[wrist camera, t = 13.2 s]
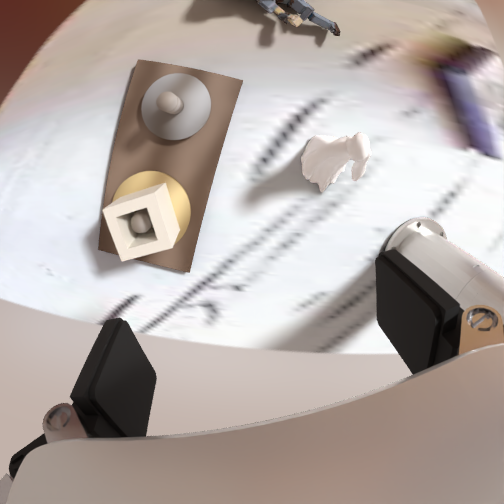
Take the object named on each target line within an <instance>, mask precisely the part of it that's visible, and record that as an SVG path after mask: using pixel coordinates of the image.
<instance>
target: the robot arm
mask: <svg viewBox="0 0 504 504" xmlns="http://www.w3.org/2000/svg"><path fill="white" fill-rule="evenodd" d="M375 264H376V294H377V321H378V324H379V326H380V327H381V329H382V330H383V332H384V333H385V335H386V336H387V337H388V339H389V340H390V342H391V343H392V345H393V346H394V347H395V349H396V350H397V352H398V353H399V355H400V356H401V358H402V359H403V360H404V362H405V363H406V365H407V366H408V368H409V369H410V371H411V372H412V374H413V375H411V376H409V377H407V378H404V379H401V380H399V381H396V382H394V383H391V384H388V385H386V386H383V387H380V388H378V389H375V390H372V391H369V392H367V393H364V394H361V395H358V396H355V397H352V398H349V399H346V400H343V401H340V402H337V403H333V404H330V405H326V406H323V407H319V408H316V409H313V410H308V411H305V412H301V413H297V414H293V415H289V416H285V417H280V418H276V419H271V420H267V421H262V422H257V423H252V424H247V425H241V426H236V427H229V428H223V429H217V430H210V431H202V432H193V433H184V434H175V435H162V436H147V437H146V433H147V427H148V421H149V415H150V410H151V405H152V400H153V394H154V390H155V384H156V379H157V378H156V373H155V370H154V369H153V367H152V365H151V364H150V362H149V360H148V359H147V357H146V355H145V353H144V352H143V350H142V348H141V346H140V344H139V343H138V341H137V339H136V337H135V335H134V333H133V332H132V330H131V328H130V326H129V324H128V322H127V321H123V320H122V319H121V318H115V319H111V320H107V321H106V322H105V323H104V325H103V327H102V329H101V331H100V333H99V335H98V338H97V339H96V341H95V343H94V345H93V347H92V349H91V352H90V353H89V355H88V358H87V360H86V362H85V364H84V366H83V368H82V370H81V373H80V375H79V377H78V379H77V381H76V384H75V386H74V388H73V390H72V393H71V395H70V398H71V399H72V400H73V401H74V402H73V404H72V405H70V404H68V403H61V404H58V405H56V406H54V407H53V408H51V409H50V410H49V411H48V412H47V414H46V415H45V417H44V419H43V430H44V434H42V435H41V436H40V437H38V438H37V439H36V440H34V441H33V442H31V443H30V444H28V445H27V446H26V447H24V448H23V449H21V450H20V451H18V452H17V453H16V454H14V455H13V456H12V458H11V461H10V465H9V472H10V476H9V475H8V474H6V475H5V476H4V477H3V478H2V479H1V480H0V504H504V277H503V276H501V275H500V274H498V273H497V272H496V271H494V270H492V269H491V268H490V267H488V266H487V265H485V264H484V263H482V262H481V261H479V260H478V259H476V258H475V257H473V256H472V255H470V254H469V253H467V252H466V251H464V250H462V249H461V248H459V247H458V246H456V245H455V244H453V243H451V242H450V241H448V240H447V237H446V234H445V232H444V230H443V228H442V227H441V226H440V225H439V223H437V222H436V221H434V220H432V219H430V218H426V217H418V218H414V219H411V220H409V221H407V222H406V223H404V224H403V225H402V226H400V227H399V228H398V229H397V230H396V232H395V233H394V234H393V235H392V237H391V238H390V240H389V242H388V244H387V246H386V249H385V251H384V252H381V253H380V254H379V257H378V258H376V260H375Z"/></svg>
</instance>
